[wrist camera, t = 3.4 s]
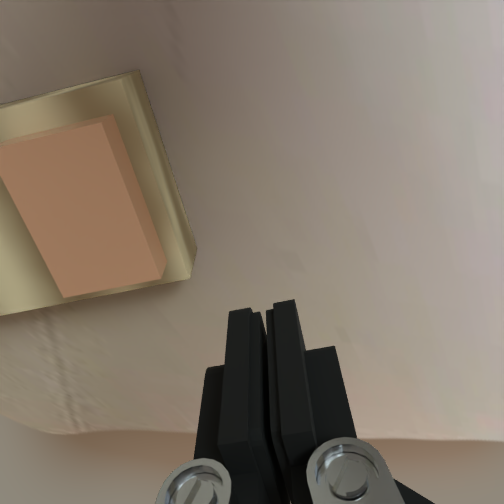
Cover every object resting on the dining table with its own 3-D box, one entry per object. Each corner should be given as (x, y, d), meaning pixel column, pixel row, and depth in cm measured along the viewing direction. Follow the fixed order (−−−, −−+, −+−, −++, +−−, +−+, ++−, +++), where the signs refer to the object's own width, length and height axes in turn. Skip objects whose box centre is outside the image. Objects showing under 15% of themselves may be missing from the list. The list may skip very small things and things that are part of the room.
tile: (112, 113, 23) (101, 122, 21) (167, 261, 27) (161, 278, 25) (6, 139, 24) (-13, 150, 22) (75, 279, 28) (63, 297, 26)
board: (139, 69, 26) (120, 79, 22) (197, 248, 31) (189, 278, 28) (-107, 131, 28) (-160, 149, 24) (-11, 290, 33) (-42, 323, 30)
